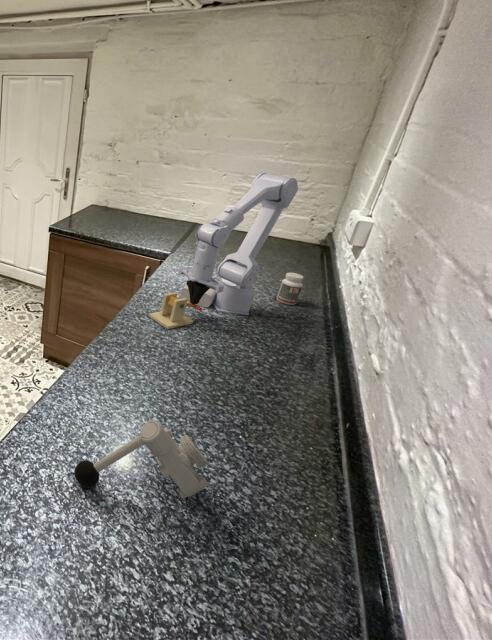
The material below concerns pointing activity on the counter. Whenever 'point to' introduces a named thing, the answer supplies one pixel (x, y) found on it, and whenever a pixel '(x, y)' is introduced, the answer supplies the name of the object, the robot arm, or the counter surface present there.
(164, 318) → the bracket
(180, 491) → the valve
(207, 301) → the charger
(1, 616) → the counter surface
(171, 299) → the lever
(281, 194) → the robot arm
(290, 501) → the counter surface
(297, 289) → the pill bottle
